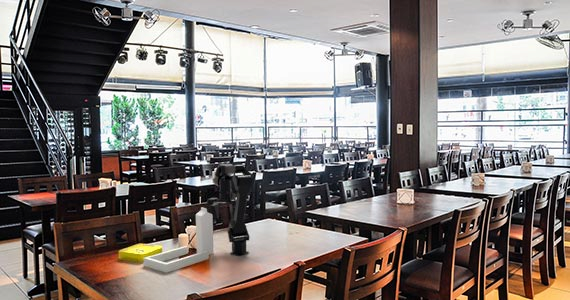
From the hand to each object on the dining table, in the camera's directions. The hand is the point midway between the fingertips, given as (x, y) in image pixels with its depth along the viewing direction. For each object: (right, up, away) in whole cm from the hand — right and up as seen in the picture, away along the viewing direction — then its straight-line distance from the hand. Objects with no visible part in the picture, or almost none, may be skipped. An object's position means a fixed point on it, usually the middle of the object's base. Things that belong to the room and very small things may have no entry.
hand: (225, 218), depth 224 cm
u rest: (-18, -15, -26) cm, 35 cm away
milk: (-8, -15, -14) cm, 21 cm away
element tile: (-38, -16, -17) cm, 44 cm away
